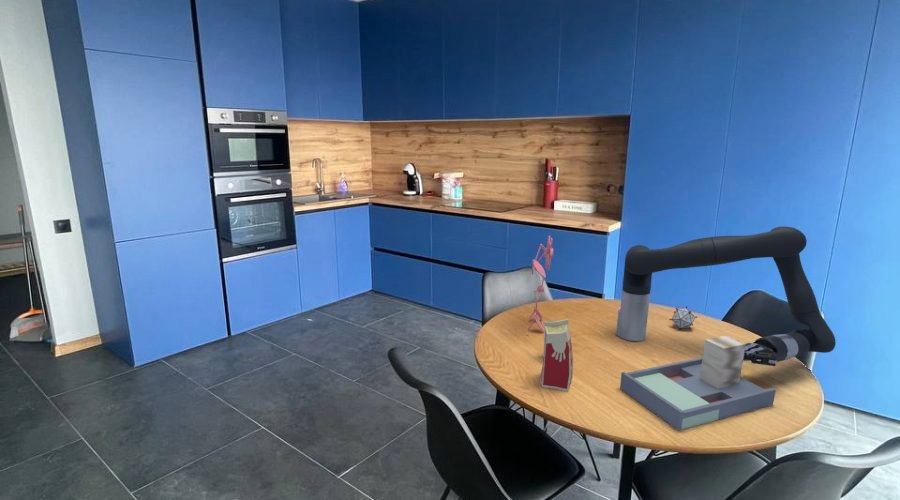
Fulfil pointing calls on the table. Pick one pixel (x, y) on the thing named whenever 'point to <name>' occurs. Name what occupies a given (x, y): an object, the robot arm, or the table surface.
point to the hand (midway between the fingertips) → (732, 357)
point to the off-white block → (722, 361)
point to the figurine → (548, 255)
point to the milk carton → (557, 357)
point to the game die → (683, 318)
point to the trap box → (691, 394)
